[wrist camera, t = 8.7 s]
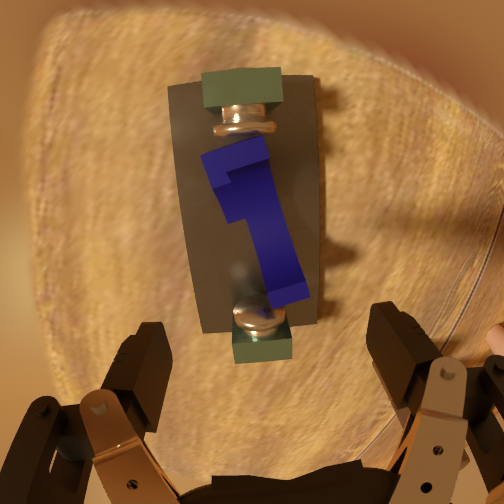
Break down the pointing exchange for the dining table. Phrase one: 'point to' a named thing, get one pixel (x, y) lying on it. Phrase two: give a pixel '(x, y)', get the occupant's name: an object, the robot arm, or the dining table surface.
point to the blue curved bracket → (257, 214)
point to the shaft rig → (237, 233)
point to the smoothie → (496, 339)
